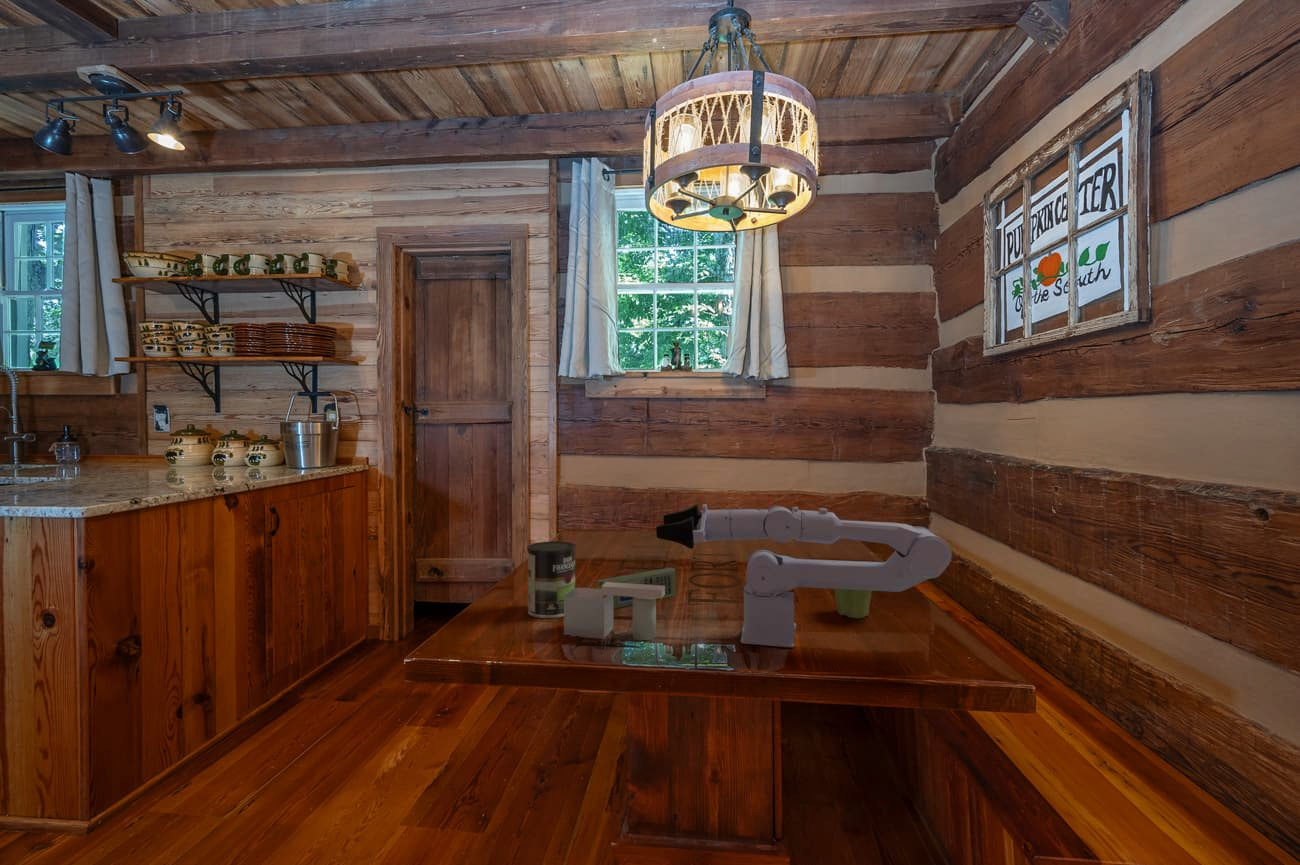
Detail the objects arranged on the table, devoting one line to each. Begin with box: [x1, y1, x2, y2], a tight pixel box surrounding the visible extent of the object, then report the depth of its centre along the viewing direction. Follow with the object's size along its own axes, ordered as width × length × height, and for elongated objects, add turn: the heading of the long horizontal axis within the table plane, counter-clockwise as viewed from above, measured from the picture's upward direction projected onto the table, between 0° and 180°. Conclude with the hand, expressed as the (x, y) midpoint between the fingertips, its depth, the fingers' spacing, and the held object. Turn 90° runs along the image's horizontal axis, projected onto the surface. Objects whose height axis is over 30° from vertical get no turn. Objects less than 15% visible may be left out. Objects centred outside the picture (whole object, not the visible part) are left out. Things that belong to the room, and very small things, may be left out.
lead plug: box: [632, 597, 657, 642], centre depth 106 cm, size 4×4×7 cm
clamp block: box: [563, 586, 615, 640], centre depth 109 cm, size 8×6×8 cm
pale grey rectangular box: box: [601, 582, 665, 600], centre depth 107 cm, size 12×3×2 cm, turn 77°
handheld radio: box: [595, 567, 677, 610], centre depth 126 cm, size 7×3×25 cm
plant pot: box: [834, 589, 873, 619], centre depth 119 cm, size 9×9×9 cm
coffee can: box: [526, 540, 577, 619], centre depth 121 cm, size 10×10×14 cm
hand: (660, 526), depth 109 cm, fingers open, 7 cm apart
